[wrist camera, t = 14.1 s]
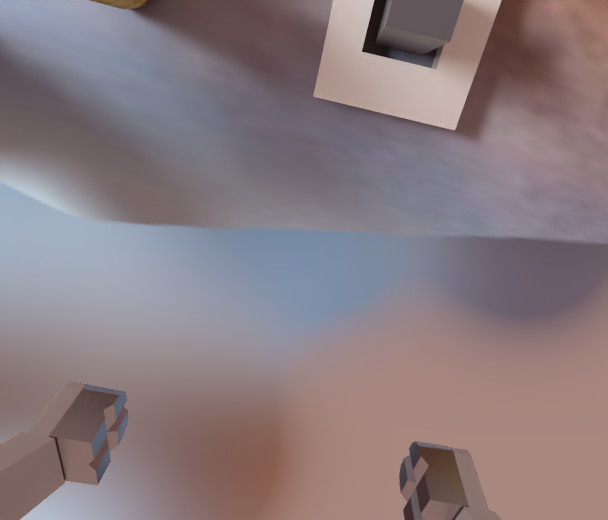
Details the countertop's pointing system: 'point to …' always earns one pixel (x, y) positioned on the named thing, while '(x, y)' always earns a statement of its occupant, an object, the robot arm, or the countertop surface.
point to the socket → (402, 66)
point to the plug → (418, 24)
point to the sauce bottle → (124, 3)
